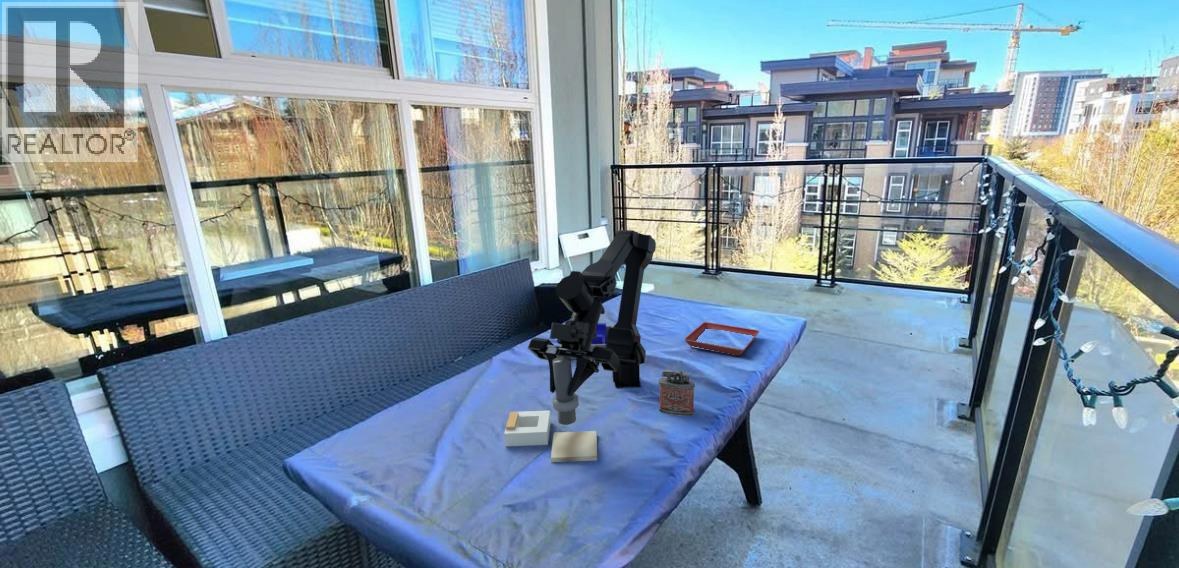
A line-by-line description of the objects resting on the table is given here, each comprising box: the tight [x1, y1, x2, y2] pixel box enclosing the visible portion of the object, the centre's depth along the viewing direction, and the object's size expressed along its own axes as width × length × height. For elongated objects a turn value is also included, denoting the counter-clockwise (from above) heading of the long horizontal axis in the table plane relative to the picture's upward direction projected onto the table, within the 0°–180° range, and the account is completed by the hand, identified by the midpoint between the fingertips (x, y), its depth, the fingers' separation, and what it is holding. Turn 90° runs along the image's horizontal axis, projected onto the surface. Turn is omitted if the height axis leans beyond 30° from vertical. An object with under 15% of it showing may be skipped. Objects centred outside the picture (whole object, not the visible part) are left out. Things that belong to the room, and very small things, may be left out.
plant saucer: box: [684, 321, 760, 356], centre depth 152 cm, size 18×18×3 cm
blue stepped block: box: [591, 322, 607, 344], centre depth 153 cm, size 12×4×6 cm, turn 172°
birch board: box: [550, 430, 598, 463], centre depth 101 cm, size 9×9×1 cm
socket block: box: [503, 410, 552, 447], centre depth 106 cm, size 9×9×4 cm
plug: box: [551, 357, 580, 426], centre depth 99 cm, size 5×5×13 cm
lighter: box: [658, 369, 696, 417], centre depth 112 cm, size 8×3×10 cm, turn 71°
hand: (560, 394), depth 97 cm, fingers closed on plug, 4 cm apart
